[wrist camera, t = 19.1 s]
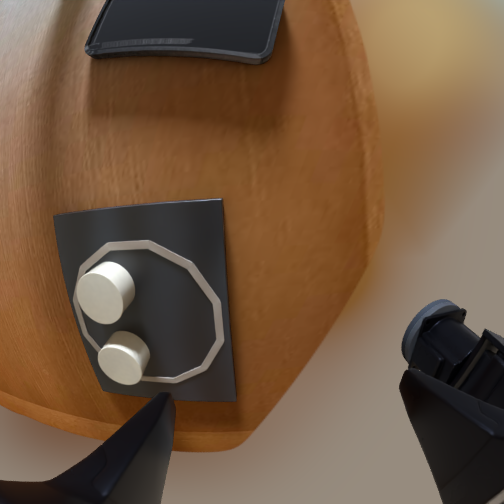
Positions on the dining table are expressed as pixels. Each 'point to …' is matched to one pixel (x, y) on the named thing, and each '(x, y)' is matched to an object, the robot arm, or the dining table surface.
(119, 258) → the slate
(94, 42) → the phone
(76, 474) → the robot arm
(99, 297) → the white round puck
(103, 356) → the cream round box
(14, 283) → the dining table surface
